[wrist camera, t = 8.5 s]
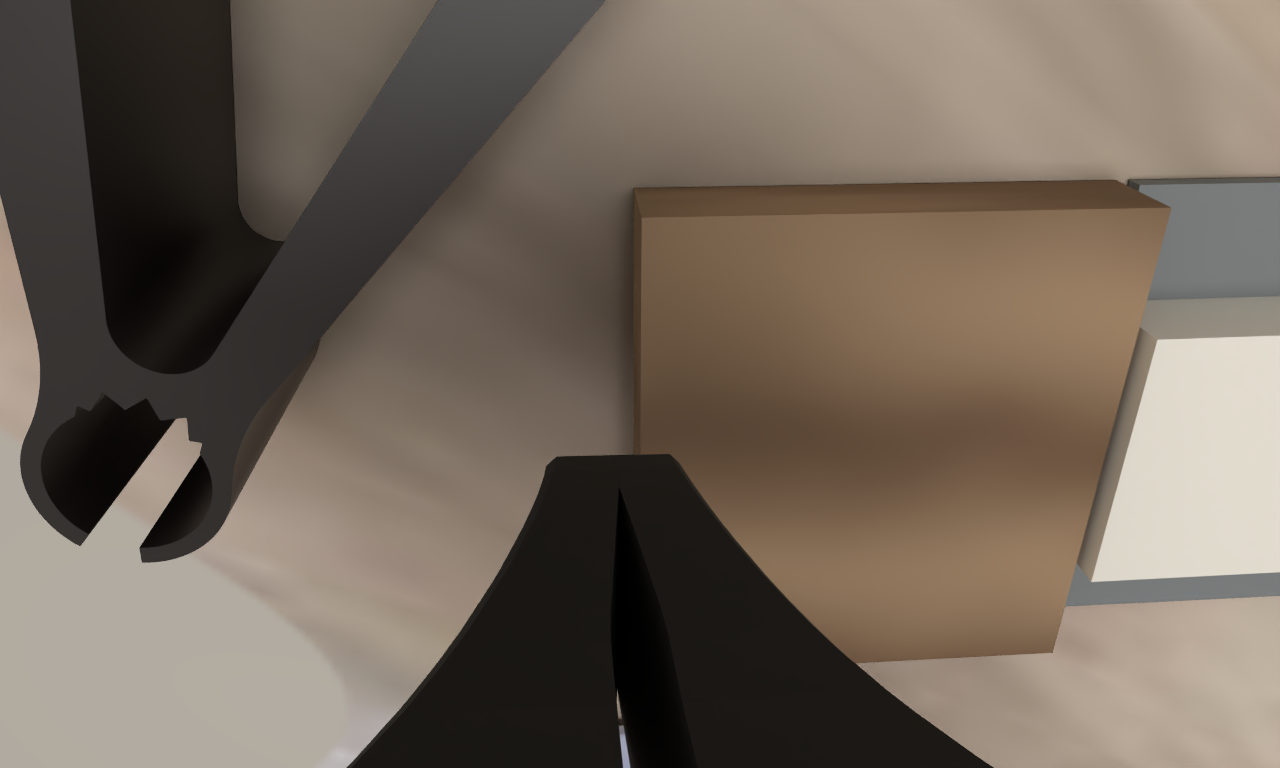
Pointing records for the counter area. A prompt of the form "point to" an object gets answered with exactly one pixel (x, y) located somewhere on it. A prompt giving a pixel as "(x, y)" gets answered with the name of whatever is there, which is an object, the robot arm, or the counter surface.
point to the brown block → (895, 390)
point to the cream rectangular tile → (1193, 447)
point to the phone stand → (208, 230)
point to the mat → (1197, 269)
